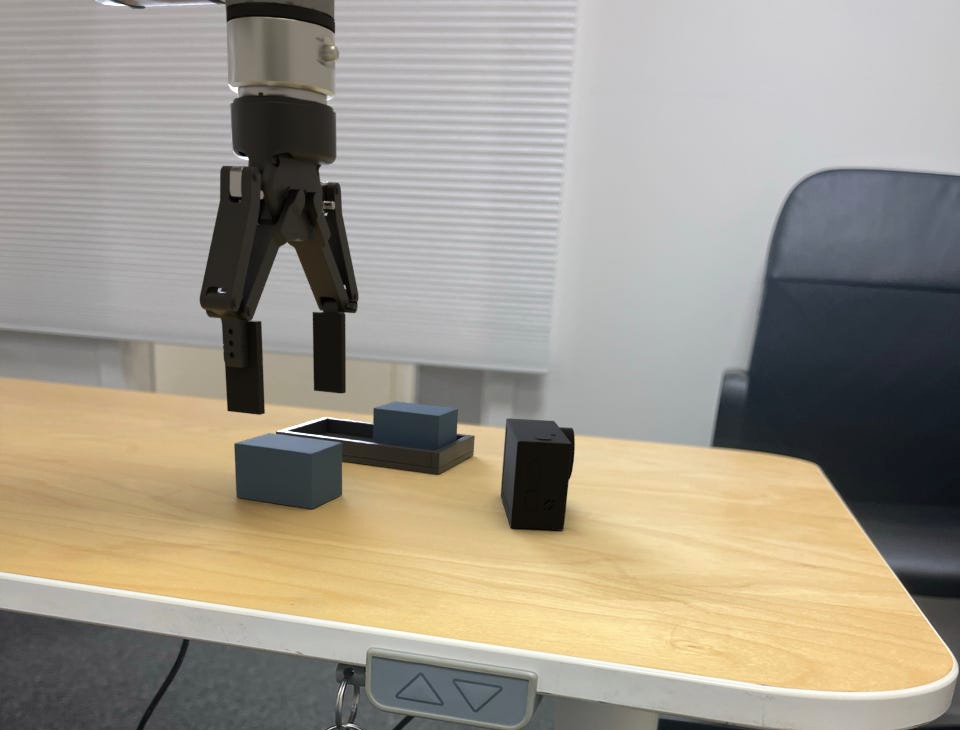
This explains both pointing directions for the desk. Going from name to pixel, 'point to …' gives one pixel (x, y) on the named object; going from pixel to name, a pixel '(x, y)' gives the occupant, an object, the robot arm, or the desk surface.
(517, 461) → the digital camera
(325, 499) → the blue-grey rectangular block
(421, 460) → the tray
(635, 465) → the desk surface
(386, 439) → the blue block
